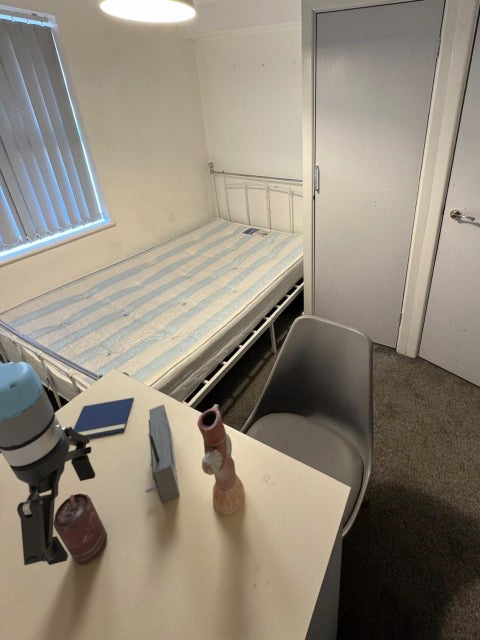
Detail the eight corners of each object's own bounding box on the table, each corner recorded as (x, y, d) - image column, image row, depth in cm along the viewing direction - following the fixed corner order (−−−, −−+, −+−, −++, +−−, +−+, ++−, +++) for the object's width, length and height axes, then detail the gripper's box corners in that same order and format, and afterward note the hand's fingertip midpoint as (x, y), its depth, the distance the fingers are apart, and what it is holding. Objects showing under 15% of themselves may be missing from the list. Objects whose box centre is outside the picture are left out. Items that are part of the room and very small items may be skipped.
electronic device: (180, 494, 76) (165, 440, 68) (149, 509, 73) (129, 454, 65) (171, 431, 90) (158, 379, 82) (145, 441, 87) (129, 389, 79)
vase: (225, 472, 80) (211, 387, 68) (251, 484, 78) (242, 398, 65) (199, 520, 71) (178, 432, 59) (227, 535, 69) (211, 446, 56)
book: (68, 442, 87) (67, 440, 87) (84, 407, 97) (83, 405, 97) (124, 431, 90) (123, 429, 90) (133, 398, 100) (133, 396, 99)
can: (102, 520, 71) (84, 483, 65) (111, 546, 67) (93, 509, 61) (70, 545, 67) (48, 507, 62) (78, 574, 63) (55, 537, 57)
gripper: (20, 528, 43) (68, 598, 52) (89, 381, 65) (115, 447, 74) (-46, 544, 42) (15, 613, 50) (47, 388, 64) (79, 455, 73)
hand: (74, 515), depth 62 cm, fingers open, 13 cm apart
